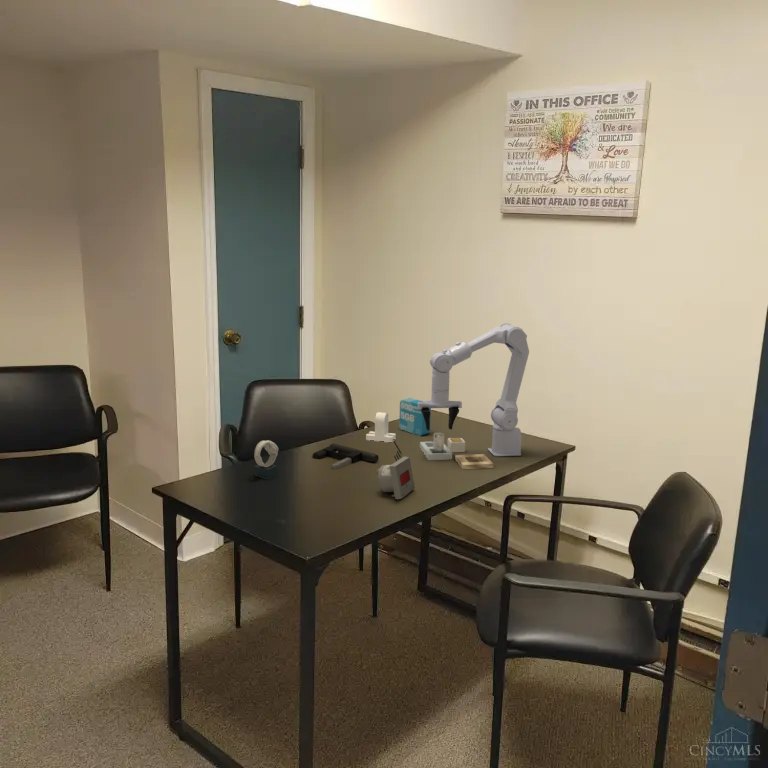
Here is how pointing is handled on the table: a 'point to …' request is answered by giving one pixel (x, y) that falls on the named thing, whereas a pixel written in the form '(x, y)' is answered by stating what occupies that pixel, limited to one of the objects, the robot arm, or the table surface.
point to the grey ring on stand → (267, 468)
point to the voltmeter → (396, 477)
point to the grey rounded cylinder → (438, 443)
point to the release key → (456, 440)
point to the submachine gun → (345, 455)
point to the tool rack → (428, 451)
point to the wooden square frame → (482, 463)
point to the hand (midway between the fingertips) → (439, 429)
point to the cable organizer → (381, 429)
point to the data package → (412, 417)
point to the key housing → (456, 446)
